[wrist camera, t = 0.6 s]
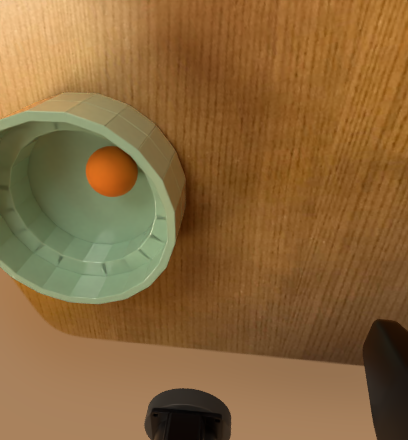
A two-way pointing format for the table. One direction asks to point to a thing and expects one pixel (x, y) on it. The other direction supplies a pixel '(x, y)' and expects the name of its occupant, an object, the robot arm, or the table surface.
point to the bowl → (85, 200)
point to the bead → (111, 171)
